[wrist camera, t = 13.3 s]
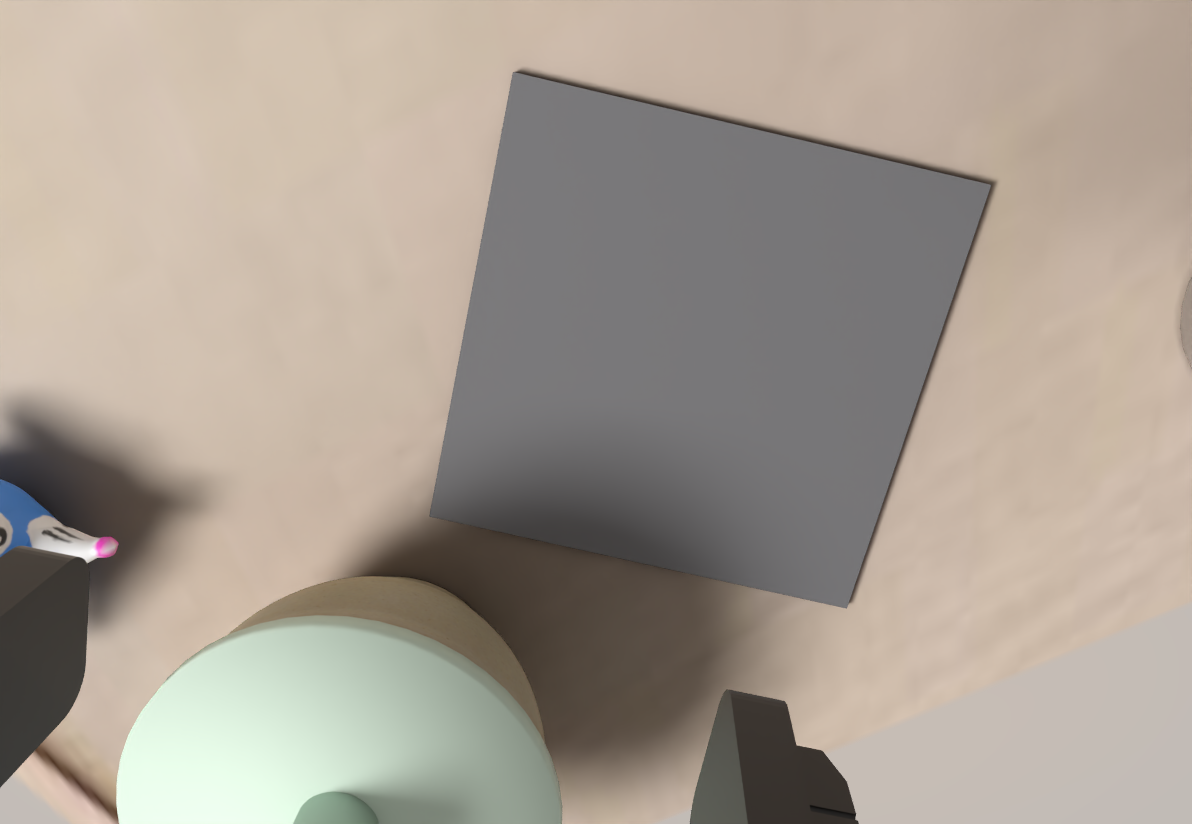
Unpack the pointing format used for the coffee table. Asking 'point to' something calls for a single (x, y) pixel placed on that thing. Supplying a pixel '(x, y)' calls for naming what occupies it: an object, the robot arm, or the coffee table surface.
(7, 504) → the blue mole toy
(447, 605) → the planter bowl
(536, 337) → the mat
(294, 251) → the coffee table surface
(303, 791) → the lid
